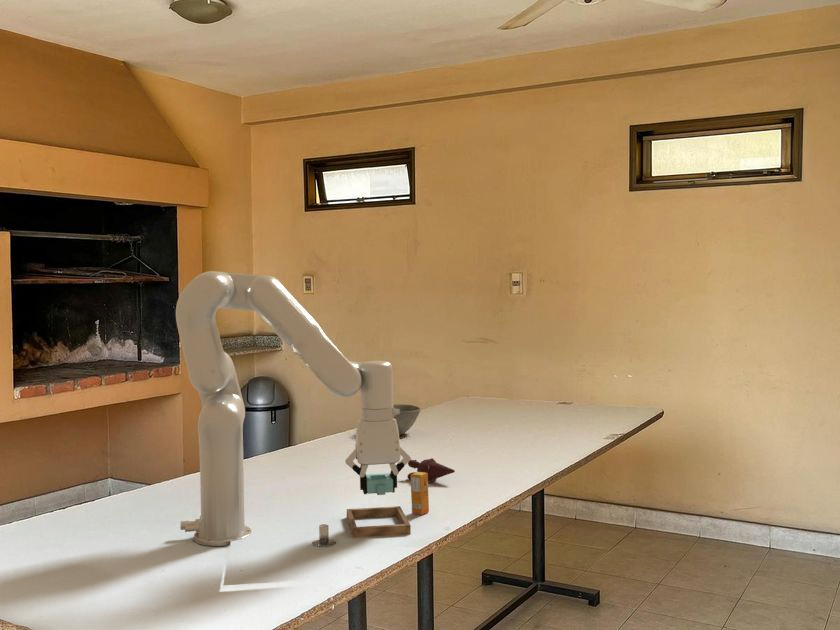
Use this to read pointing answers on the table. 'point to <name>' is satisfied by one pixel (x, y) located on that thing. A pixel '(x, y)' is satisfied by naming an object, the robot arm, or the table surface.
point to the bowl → (406, 416)
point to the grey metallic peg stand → (323, 537)
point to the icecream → (430, 469)
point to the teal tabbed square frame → (379, 483)
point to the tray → (378, 530)
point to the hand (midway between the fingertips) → (378, 491)
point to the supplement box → (419, 493)
